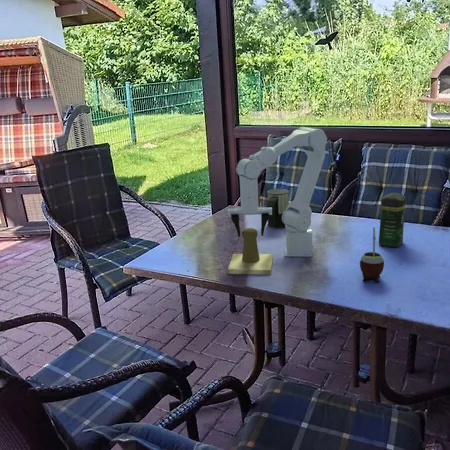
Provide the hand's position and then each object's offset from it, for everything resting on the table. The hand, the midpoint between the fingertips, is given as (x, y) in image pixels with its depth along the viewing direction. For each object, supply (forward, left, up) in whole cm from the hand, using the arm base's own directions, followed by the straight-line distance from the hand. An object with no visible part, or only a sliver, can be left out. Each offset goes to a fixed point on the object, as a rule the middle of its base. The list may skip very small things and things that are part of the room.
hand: (250, 235), depth 164 cm
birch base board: (0, +2, -10) cm, 11 cm away
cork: (0, 0, -9) cm, 9 cm away
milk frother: (-10, -39, -11) cm, 42 cm away
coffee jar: (-49, -20, -11) cm, 54 cm away
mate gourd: (-38, +11, -11) cm, 41 cm away
